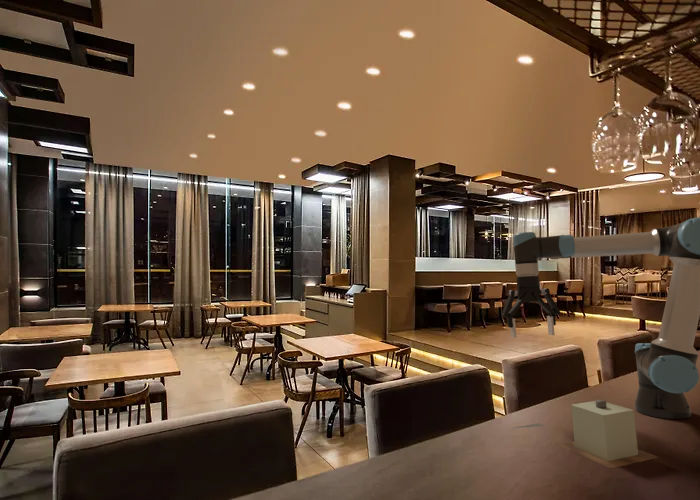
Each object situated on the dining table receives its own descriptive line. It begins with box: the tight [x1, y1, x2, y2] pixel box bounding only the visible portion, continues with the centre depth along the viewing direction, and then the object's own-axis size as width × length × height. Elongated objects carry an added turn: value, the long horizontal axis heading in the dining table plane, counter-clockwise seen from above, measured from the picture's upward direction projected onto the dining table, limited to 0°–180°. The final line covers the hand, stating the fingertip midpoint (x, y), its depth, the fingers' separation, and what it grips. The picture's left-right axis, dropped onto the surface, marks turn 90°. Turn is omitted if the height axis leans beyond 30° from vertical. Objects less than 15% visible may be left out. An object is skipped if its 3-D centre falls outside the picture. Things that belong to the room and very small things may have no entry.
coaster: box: [513, 423, 545, 429], centre depth 123 cm, size 12×12×1 cm
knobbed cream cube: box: [570, 399, 639, 461], centre depth 107 cm, size 10×10×13 cm
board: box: [557, 441, 660, 470], centre depth 106 cm, size 16×16×1 cm
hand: (532, 336), depth 144 cm, fingers open, 13 cm apart
